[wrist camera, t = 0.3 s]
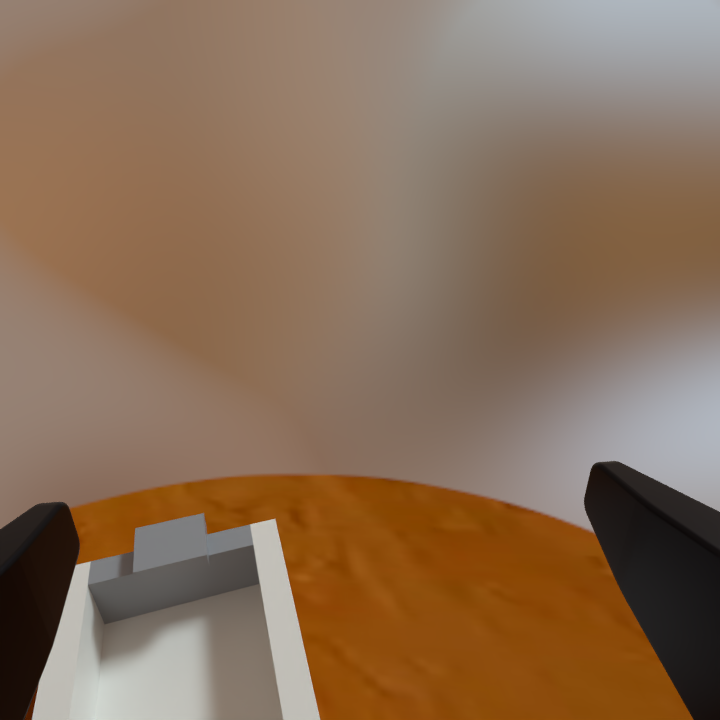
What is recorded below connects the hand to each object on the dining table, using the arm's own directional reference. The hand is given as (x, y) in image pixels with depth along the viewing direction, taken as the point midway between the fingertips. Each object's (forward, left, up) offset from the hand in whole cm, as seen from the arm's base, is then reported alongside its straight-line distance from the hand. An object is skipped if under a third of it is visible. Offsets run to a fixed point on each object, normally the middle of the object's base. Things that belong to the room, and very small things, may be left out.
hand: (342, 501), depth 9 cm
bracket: (+5, +7, -17) cm, 19 cm away
